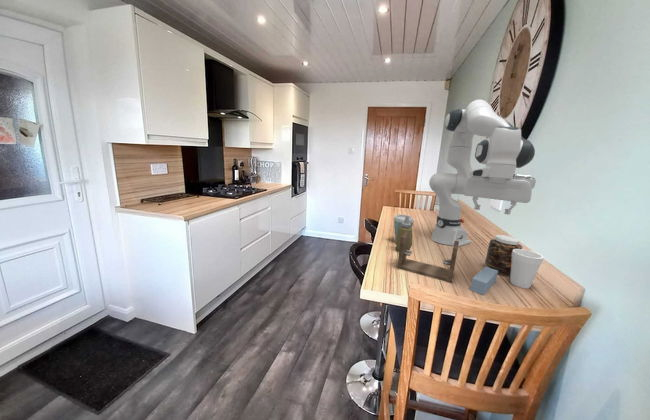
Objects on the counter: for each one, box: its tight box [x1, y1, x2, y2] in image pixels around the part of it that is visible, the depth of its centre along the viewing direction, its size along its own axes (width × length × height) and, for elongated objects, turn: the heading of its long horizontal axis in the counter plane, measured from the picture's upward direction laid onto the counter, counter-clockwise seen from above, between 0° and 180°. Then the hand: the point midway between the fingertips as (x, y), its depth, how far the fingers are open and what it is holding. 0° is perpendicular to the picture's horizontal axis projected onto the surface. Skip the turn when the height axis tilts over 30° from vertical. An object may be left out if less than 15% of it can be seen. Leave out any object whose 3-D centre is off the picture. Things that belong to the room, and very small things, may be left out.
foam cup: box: [509, 248, 544, 289], centre depth 98 cm, size 10×9×13 cm
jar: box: [483, 234, 523, 277], centre depth 109 cm, size 12×12×15 cm
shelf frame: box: [396, 231, 459, 284], centre depth 105 cm, size 21×10×14 cm, turn 60°
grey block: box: [469, 266, 499, 296], centre depth 96 cm, size 16×4×5 cm, turn 133°
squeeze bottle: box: [395, 215, 414, 252], centre depth 125 cm, size 8×8×18 cm
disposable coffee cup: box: [393, 214, 415, 242], centre depth 137 cm, size 11×11×15 cm
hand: (491, 211), depth 91 cm, fingers open, 8 cm apart
